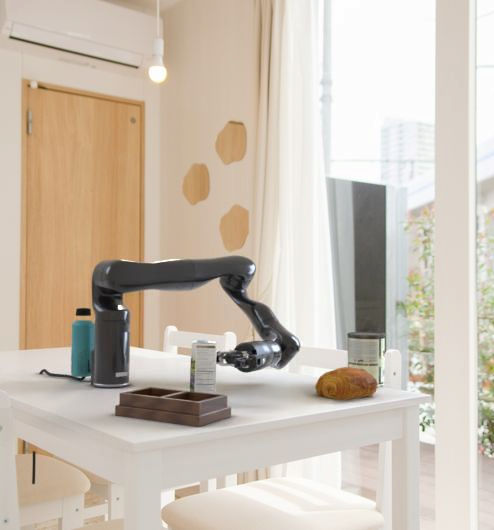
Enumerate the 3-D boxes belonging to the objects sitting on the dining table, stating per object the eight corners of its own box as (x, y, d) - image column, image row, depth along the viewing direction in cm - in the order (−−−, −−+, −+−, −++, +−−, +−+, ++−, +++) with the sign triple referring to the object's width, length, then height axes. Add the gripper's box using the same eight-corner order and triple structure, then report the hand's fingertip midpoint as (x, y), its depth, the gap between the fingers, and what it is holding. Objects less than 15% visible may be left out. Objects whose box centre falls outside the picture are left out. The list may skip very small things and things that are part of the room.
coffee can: (342, 381, 196) (343, 331, 196) (378, 381, 198) (378, 331, 198) (352, 387, 186) (353, 334, 186) (389, 387, 187) (390, 334, 188)
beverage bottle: (88, 382, 188) (89, 308, 188) (65, 381, 189) (67, 308, 189) (98, 379, 194) (100, 307, 194) (76, 378, 195) (77, 307, 196)
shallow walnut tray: (114, 415, 145) (115, 393, 145) (150, 406, 155) (150, 385, 155) (199, 426, 135) (199, 403, 135) (231, 416, 145) (231, 394, 145)
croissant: (386, 405, 172) (390, 373, 173) (341, 402, 163) (346, 368, 163) (345, 395, 184) (349, 365, 184) (301, 392, 174) (305, 360, 175)
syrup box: (189, 403, 160) (190, 339, 160) (215, 403, 160) (216, 340, 160) (189, 407, 154) (190, 342, 154) (216, 407, 154) (217, 342, 155)
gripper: (278, 372, 174) (245, 380, 160) (229, 368, 181) (194, 375, 167) (278, 342, 174) (246, 348, 160) (229, 339, 181) (194, 344, 167)
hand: (219, 362), depth 163 cm, fingers open, 8 cm apart
